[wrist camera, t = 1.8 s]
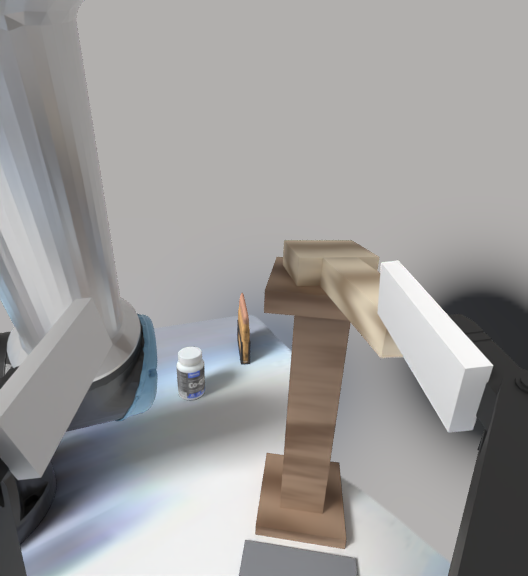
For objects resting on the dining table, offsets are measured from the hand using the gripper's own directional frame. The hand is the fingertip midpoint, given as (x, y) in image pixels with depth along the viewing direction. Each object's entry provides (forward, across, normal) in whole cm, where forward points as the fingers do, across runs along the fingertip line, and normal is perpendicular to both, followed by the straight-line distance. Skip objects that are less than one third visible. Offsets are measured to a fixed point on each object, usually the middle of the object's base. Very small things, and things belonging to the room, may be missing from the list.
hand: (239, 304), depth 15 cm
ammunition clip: (+44, -6, -41) cm, 60 cm away
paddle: (+9, +8, -6) cm, 13 cm away
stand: (+10, +2, -36) cm, 38 cm away
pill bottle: (+30, -15, -37) cm, 50 cm away
